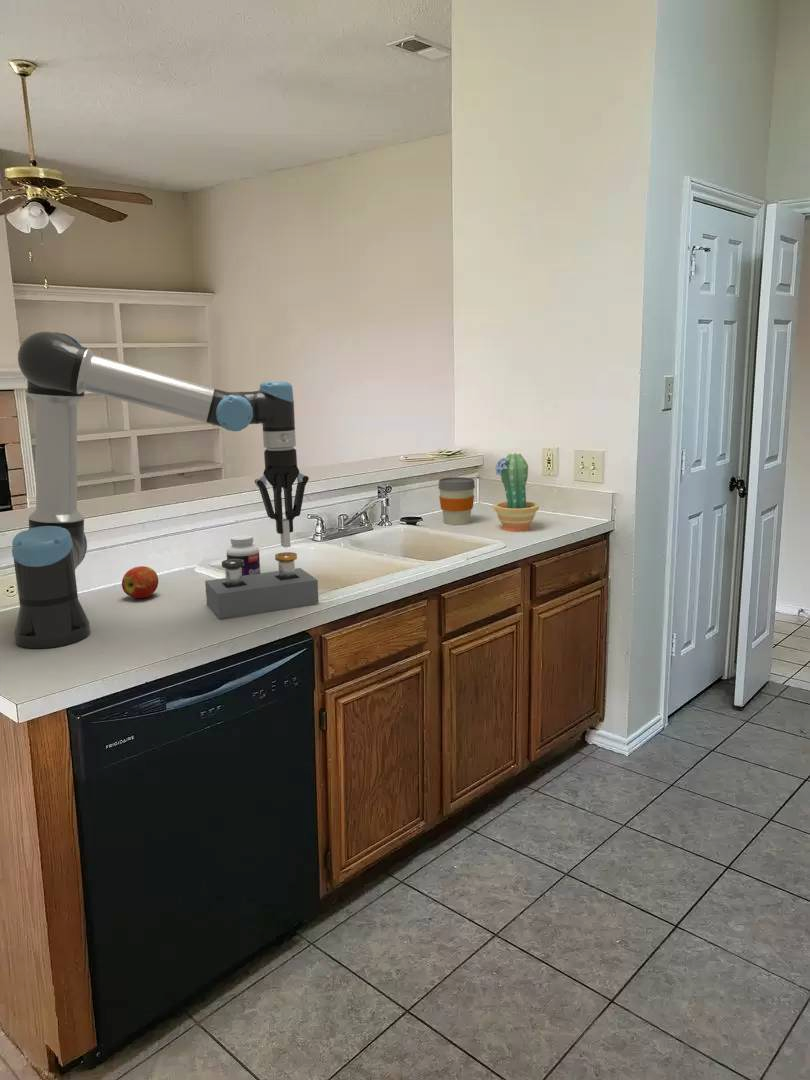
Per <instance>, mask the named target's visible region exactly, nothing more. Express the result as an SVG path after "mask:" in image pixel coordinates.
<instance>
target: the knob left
mask: <svg viewBox="0 0 810 1080" xmlns="http://www.w3.org/2000/svg"><path fill="white" fill-rule="evenodd" d="M242 566H244V560H242V559H228V560H227V559H225V560H222V561H221V568H222V569H223V568H224V575H225V578H226V588H230V587H237V586H243V583H242V568H241V567H242Z"/></svg>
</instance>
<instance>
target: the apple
mask: <svg viewBox="0 0 810 1080" xmlns="http://www.w3.org/2000/svg"><path fill="white" fill-rule="evenodd" d="M158 586H159V576H158V574H157V573H156V571H155V570H154V569H152V567H149V566H144V565H143V566H135V567H132V568H130V569H129V570H127V571H126V573H125V574H124V575H123V578H122V580H121V587H122V590H123V592H124V593H125V594H126V595H127V596H129V597H132V598H135V599H145V598H148V597H150V596H152V595H153V594H154V593H155V592H156V590H157V588H158Z"/></svg>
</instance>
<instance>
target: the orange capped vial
mask: <svg viewBox="0 0 810 1080" xmlns="http://www.w3.org/2000/svg"><path fill="white" fill-rule="evenodd" d="M297 559H298V554H297V553H296V552H294V551H293V552H291V551H286V552H279V553H275V555H274V560H275V561H277V563H278V571H279V580H280V581H281V580H288V579H295V569H296V568H295V561H296V560H297Z"/></svg>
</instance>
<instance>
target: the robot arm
mask: <svg viewBox="0 0 810 1080" xmlns="http://www.w3.org/2000/svg"><path fill="white" fill-rule="evenodd" d="M17 362H18V366H19V370H20V372H21V373H22V374H23V376H24V378H26V379H27V382H26V383H27V395H28V396H29V397H30V398H31V399H32V400H33V402H34V409H35V411H34V412H35V413H34V414H35V416H34V418H35V419H34V420H35V421H34V422H35V428H34V429H35V431H34V433H35V437H34V438H35V510H33V512H32V513H30V515H29V516H28V529H27V530H23V531H20V532H18V533H17V534H16V535H15V536H14V537H13V538H12V543H11V545H12V548H11V553H12V558H13V564H14V570H15V578H16V579H15V580H16V586H17V593H18V602H19V608H18V609H19V610H18V614H17V618H16V624H15V626H14V627H15V628H14V633H13V634H14V640H15V641H14V643H15V644H16V645H17V646H19V647H22V648H28V649H47V648H48V649H49V648H56V647H60V646H61V647H63V646H67V645H70V644H73V643H77V642H80V641H82V640H83V639H86V638H87V637H88V636H89V635H90V634H91V625H90V621H89V619H88V617H87V615H86V612H85V611H84V608H83V606H82V604H81V603H80V600H79V596H78V594H79V593H78V587H77V579H76V578H77V577H76V569H77V568H78V566H80V564H81V563H82V562H83V560H84V559H85V557H86V554H87V551H88V541H87V536H86V534H85V516H84V515H83V514H82V513H81V512H80V511H79V510H78V404H79V403H80V402H81V401H82V400H83V399H84V398H85V392H90V393H92V394H96V395H100V396H105V397H109V398H112V399H115V400H119V401H124V402H127V403H131V404H135V405H138V406H142V407H146V408H150V409H154V410H157V411H162V412H165V413H169V414H173V415H176V416H180V417H184V418H187V419H193V420H195V421H200V422H203V423H207V424H210V425H212V426H218V427H221V428H223V429H225V430H227V431H230V432H241V431H243V430H244V429H246V428H247V427H249V425H259V424H261V426H262V439H263V442H262V443H263V448H265V449H264V451H263V455H264V456H263V457H264V470H263V475H262V476H260V477H259V478H256V479H254V483H255V485H256V487H257V488H258V489H259V492H260V495H261V499H262V502H263V505H264V508H265V511H266V514H267V517H268V518H270V519H271V520H274V521H275V528H276V530H275V531H276V533H277V534H279V535H280V546H282V547H283V548H285V549H286V548H291V534H290V533H294V519H295V518H296V517H299V516H300V515H301V512H302V505H303V500H304V494H305V490H306V489H305V488H306V486H307V483H308V482H309V480H310V479H309V478H310V477H309V476H307V475H304V474H303V473H301V472H300V469H299V468H298V459H297V456H298V455H297V449H296V448H294V447H296V446H297V443H296V442H297V440H296V439H297V438H296V422H295V400H294V391H293V386H292V384H291V383H290V382H288V381H265V382H261V383H260V385H259V390H256V391H225V390H221V389H216V388H213V387H210V386H206V385H202V384H200V383H196V382H191V381H189V380H185V379H181V378H178V377H175V376H171V375H167V374H164V373H160V372H155V371H152V370H150V369H145V368H143V367H139V366H135V365H131V364H128V363H124V362H121V361H117V360H113V359H109V358H106V357H102V356H99V355H96V354H94V353H93V352H92V349H91V348H89V347H84V346H83V345H82V344H81V343H80V342H79V341H78V340H77V339H75V338H74V337H73V336H70V335H69V334H67V333H62V332H58V331H57V332H54V331H53V332H51V331H39V332H35V333H33V334H31V335H30V336H27V338H25V340H24V341H23V342H22V344H20V347H19V349H18V353H17ZM296 481H297V484H296V490H295V495H294V500H293V485H294V483H295V482H296ZM267 482H268V483H269V485H270V486H271V487H272V492H273V503H272V500H271V497H270V494H269V491H268V489H267ZM282 493H283V497H282ZM282 498H283V499H284V500H282ZM283 501H284V513H283ZM273 504H274V506H273ZM283 514H285V518H284V517H283V516H284V515H283Z"/></svg>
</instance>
